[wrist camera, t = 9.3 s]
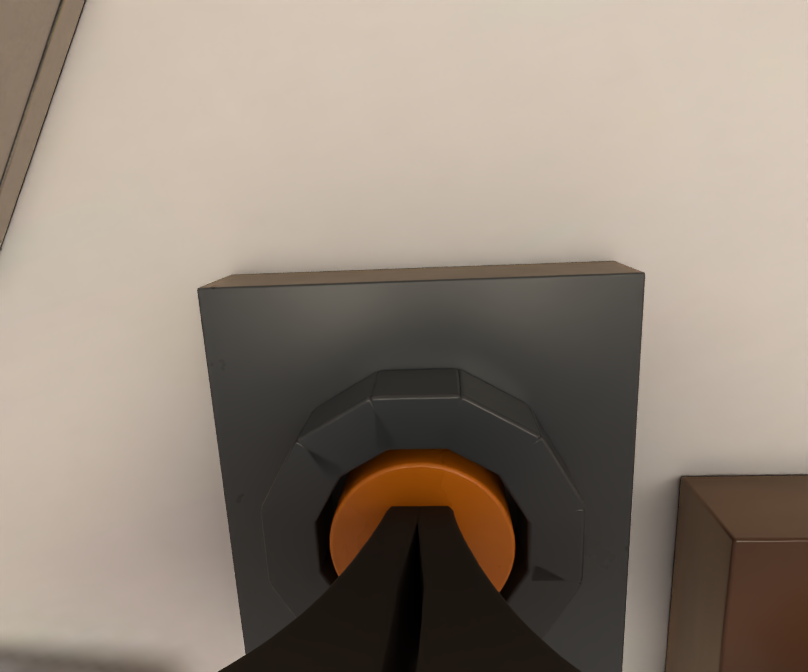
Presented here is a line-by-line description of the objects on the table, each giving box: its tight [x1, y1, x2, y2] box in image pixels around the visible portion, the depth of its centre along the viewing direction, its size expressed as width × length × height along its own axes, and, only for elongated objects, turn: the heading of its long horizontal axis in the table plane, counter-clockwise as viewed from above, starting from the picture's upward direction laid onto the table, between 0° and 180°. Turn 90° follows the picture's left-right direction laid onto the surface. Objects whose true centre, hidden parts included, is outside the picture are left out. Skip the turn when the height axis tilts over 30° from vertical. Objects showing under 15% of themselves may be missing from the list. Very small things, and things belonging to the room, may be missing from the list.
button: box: [329, 449, 516, 592], centre depth 13 cm, size 4×4×2 cm
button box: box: [197, 261, 645, 672], centre depth 14 cm, size 11×10×4 cm
